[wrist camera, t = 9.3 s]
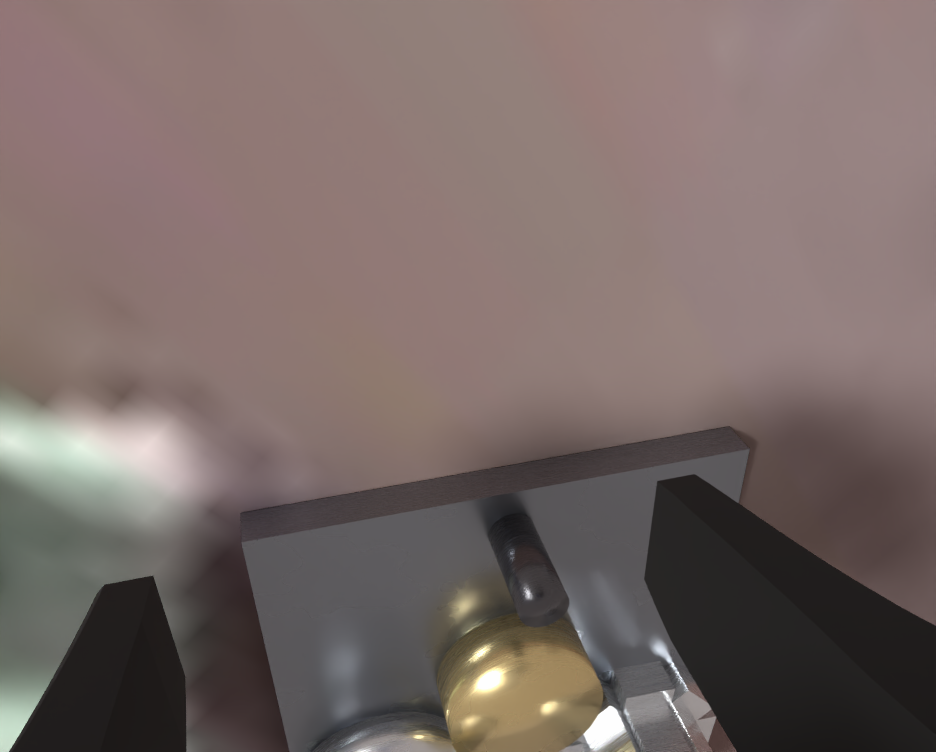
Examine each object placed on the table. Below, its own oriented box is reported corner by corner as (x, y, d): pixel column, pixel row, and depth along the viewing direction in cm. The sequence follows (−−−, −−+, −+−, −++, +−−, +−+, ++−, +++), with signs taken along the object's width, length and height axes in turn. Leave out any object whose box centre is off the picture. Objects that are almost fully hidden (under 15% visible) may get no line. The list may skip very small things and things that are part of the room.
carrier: (308, 813, 31) (318, 934, 27) (240, 513, 23) (243, 629, 19) (674, 721, 34) (726, 819, 30) (729, 426, 26) (808, 513, 22)
